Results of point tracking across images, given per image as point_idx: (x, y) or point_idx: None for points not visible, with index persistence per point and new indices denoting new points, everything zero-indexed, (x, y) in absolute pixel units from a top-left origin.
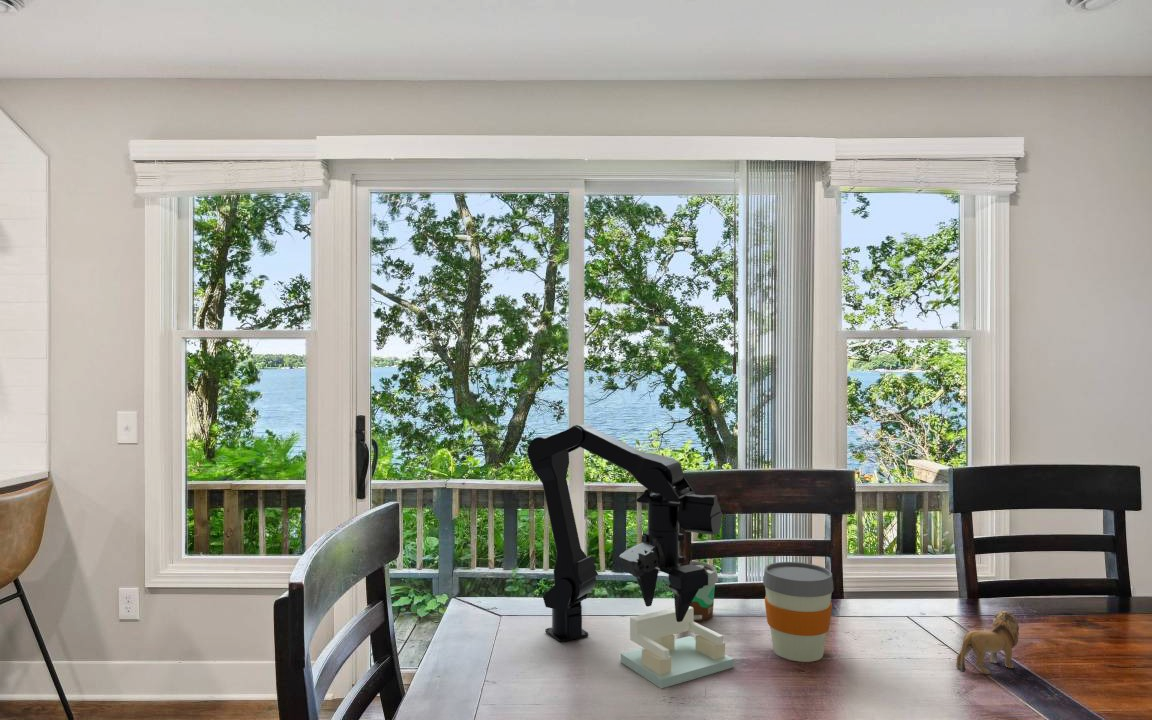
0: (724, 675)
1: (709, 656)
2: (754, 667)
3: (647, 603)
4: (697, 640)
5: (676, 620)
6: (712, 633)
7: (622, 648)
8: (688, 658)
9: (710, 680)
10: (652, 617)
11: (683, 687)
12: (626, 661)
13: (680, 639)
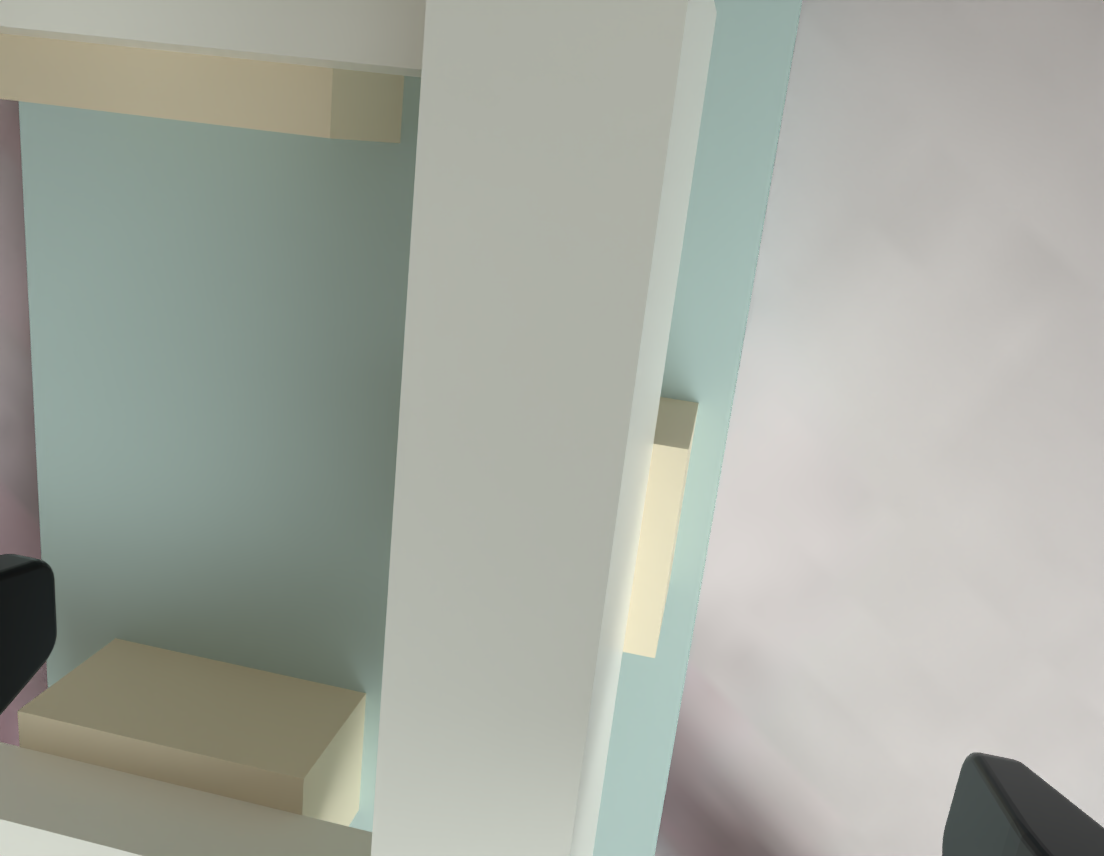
0: (30, 557)
1: (170, 653)
2: None
3: (979, 800)
4: (290, 745)
5: (36, 562)
6: (24, 830)
7: (1086, 253)
8: (248, 482)
9: (11, 401)
10: (405, 360)
11: (10, 106)
12: None
13: (639, 782)
